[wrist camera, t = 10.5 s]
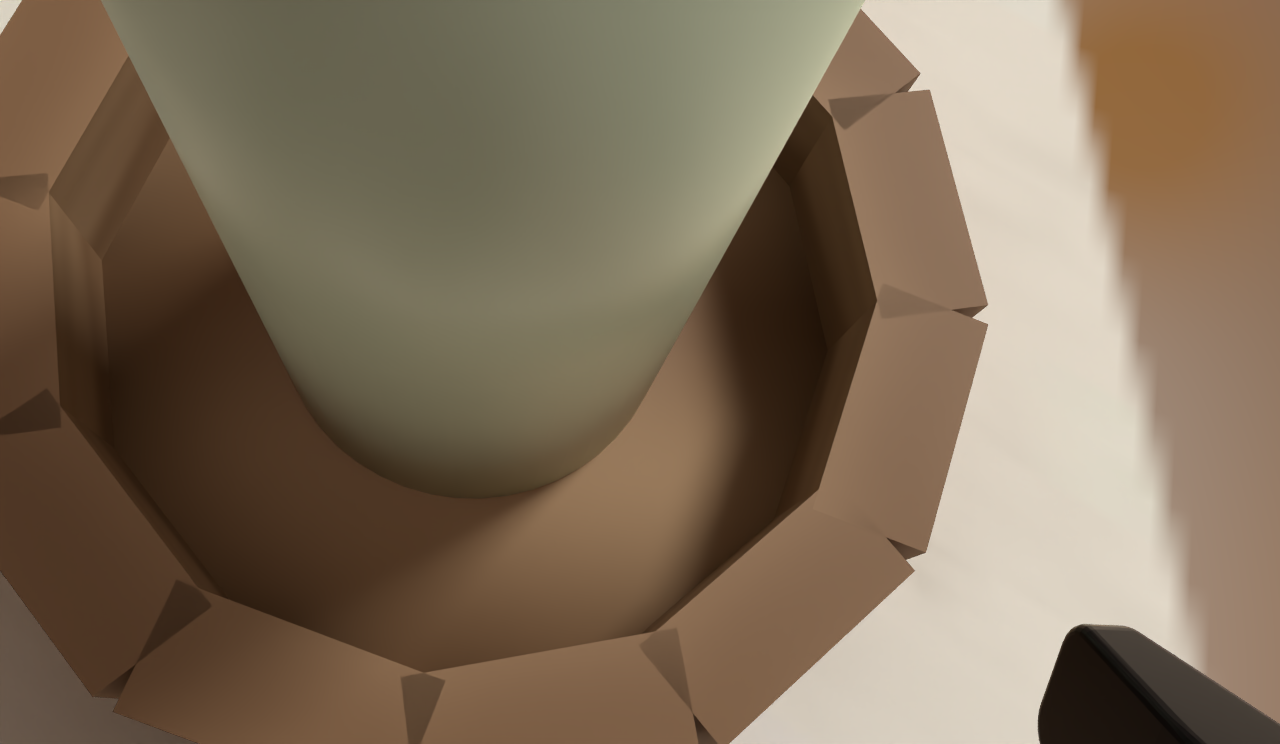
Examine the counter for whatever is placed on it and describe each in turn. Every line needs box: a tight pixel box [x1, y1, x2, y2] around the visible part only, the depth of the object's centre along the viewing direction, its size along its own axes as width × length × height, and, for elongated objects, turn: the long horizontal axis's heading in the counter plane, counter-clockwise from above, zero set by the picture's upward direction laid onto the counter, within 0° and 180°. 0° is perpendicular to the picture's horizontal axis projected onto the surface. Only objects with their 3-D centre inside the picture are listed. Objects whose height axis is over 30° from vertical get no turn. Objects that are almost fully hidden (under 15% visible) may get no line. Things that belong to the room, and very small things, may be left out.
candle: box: [101, 0, 865, 499], centre depth 10 cm, size 5×5×14 cm
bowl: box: [0, 0, 988, 744], centre depth 16 cm, size 13×13×3 cm
